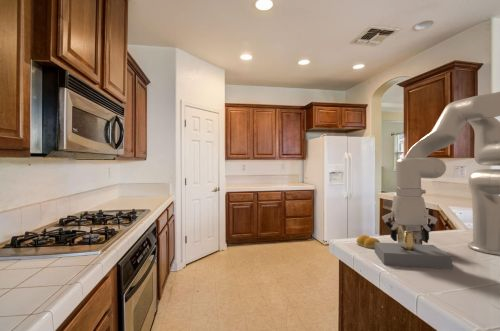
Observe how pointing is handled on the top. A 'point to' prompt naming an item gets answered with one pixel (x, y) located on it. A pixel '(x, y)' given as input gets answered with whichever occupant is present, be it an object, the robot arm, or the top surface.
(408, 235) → the brass peg
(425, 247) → the hole block
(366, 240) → the bread roll
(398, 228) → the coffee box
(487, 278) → the top surface
